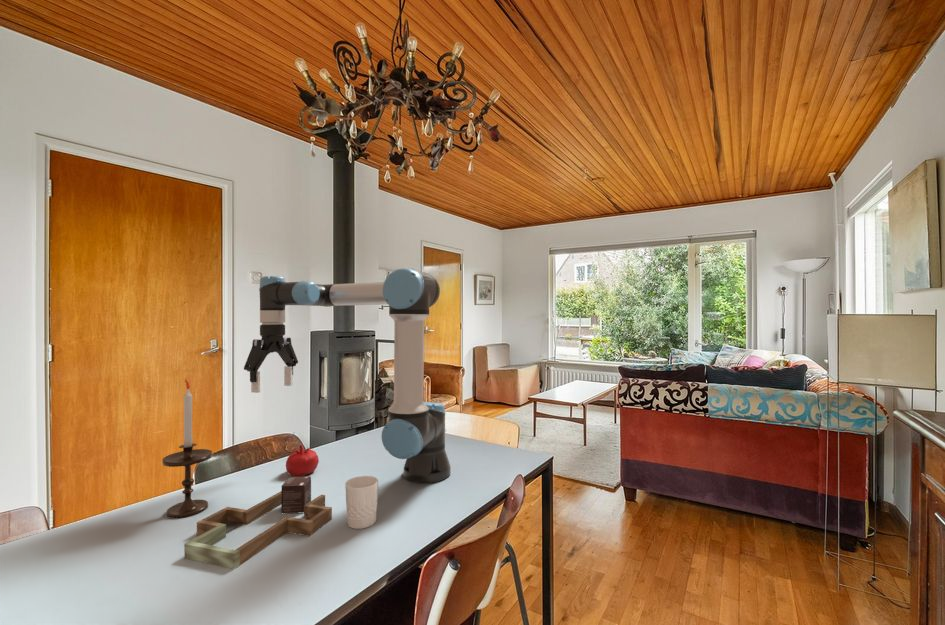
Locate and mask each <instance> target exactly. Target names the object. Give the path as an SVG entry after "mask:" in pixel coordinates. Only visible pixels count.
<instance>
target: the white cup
mask: <svg viewBox="0 0 945 625" xmlns="http://www.w3.org/2000/svg"><path fill="white" fill-rule="evenodd" d="M344 485H345V486H344V488H345V503H346V504H345V506H346V513H347V526H349V527H350V528H352V529H355V530H357V529H358V530H359V529H361V530H362V529H367V528H369V527H372V526H373V525H374V524H375V523H376V521H377V509H378V494H379V492H378V491H379V479H378V478H377V477H375V476H372V475H362V476H361V475H360V476H355V477H352V478H350V479H348V480H346V481H345V483H344Z"/></svg>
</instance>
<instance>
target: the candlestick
mask: <svg viewBox="0 0 945 625" xmlns="http://www.w3.org/2000/svg"><path fill="white" fill-rule="evenodd" d="M184 382H185V385H186V386H185V387H186V391H185V392H186V393H185V394H183V444H182V445H179V446H178V448H179V449H183V450H182V451H177V452H174V453H171V454H168V455H166V456H165V457H163V458H162V465H163V466H165V467H170V468H171V467H173V468H175V467H184V479H183V480H182V481H181V485H182V486H183V488H184V490H182V492H181V493H182V494H183V495H184V500H183V501H181V502H179V503H175V504H174V505H172V506H170V507H169V508H168V509H167V510H166V517H167V518H169V519H184V518H185V519H186V518H190V517H192V516H196V515H199V514H201V513H203V512H204V511H206V510H207V509H208V508H209V502H208V501H207V500H205V499H192V493H193V492H194V488H192V485H194V483H195V479H194V478H192V466H193V465H196V464H200V463H203V462H205V461H208V460H210V459H211V458H212V457H213V451H212V450H211V449H205V448H203V449H202V448H200V449H199V448H198V449H196V448H195V449H194V448H193V447H196V446H197V445H198V443H193V394H192V393H191V391H190V387H191V386H190V382H189V381H188V379H187V377H185V380H184Z"/></svg>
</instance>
